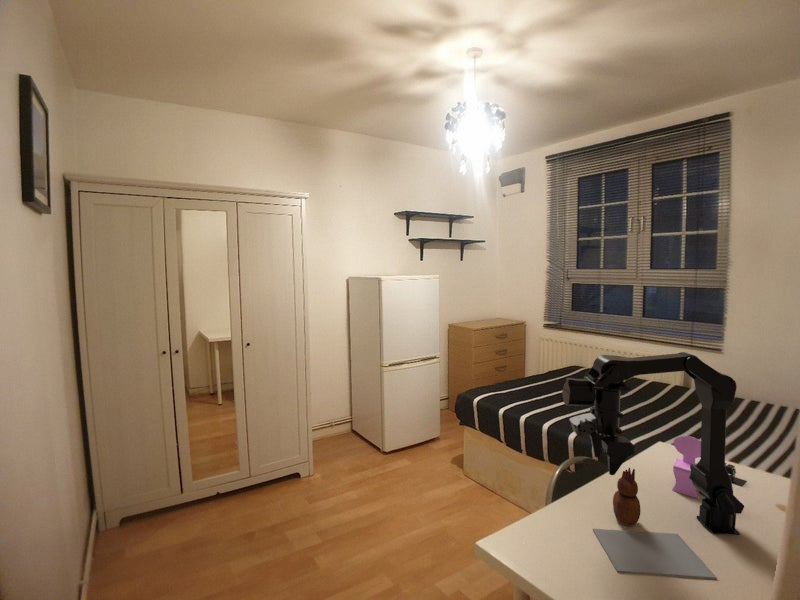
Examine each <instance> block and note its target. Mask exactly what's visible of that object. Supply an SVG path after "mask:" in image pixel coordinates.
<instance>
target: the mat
mask: <svg viewBox="0 0 800 600" xmlns="http://www.w3.org/2000/svg"><path fill="white" fill-rule="evenodd" d="M592 532H593V534H594V535H595V537H596V538H597V541H598V542H599V543H600V545H601V547H602V549H603V551H604V552H605V554H606V556H607V557H608V559H609V560H610V562H611V564H612V566H613V568H614V569H615V571H616V572H617V573H619V574H633V575H634V574H635V575H648V576H649V575H651V576H661V577H662V576H665V577H666V576H667V577H679V578H681V577H682V578H691V579H706V580H707V579H709V580H718V578H717V575H715V574H714V572H713V571H712V570H711V569H710V568H709V567H708V566H707V565H706V563H704V561H703V560H702V559H701V558H700V556H698V555H697V554H696V552H695V551H694V550H693V549H692V548H691V547H690V546H689V544H688V543H687V542H686V541H685V540H684V539H683V538H682V537H681V536H680V535H679V534H678V533H669V532H655V531H654V532H653V531H652V532H651V531H637V530H636V531H634V530H621V529H620V530H619V529H618V530H617V529H605V528H603V529H601V528H592Z"/></svg>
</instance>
